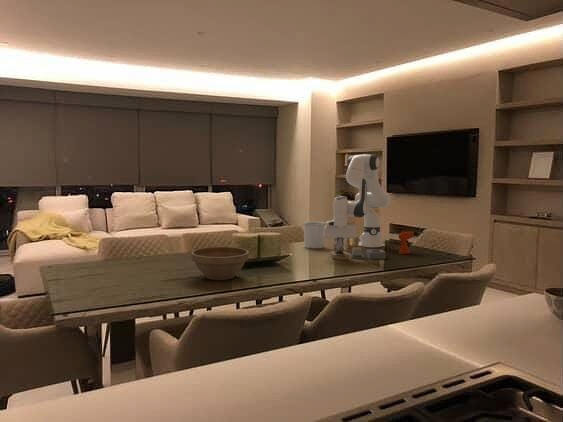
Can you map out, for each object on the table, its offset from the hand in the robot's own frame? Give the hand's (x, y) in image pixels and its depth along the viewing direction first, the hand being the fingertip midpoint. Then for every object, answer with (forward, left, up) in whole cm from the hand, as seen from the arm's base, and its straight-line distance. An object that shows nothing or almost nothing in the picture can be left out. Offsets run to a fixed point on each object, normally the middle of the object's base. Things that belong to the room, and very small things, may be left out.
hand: (339, 244), depth 283 cm
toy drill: (-18, +50, -8) cm, 54 cm away
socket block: (-2, +23, -8) cm, 24 cm away
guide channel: (-5, +11, -8) cm, 15 cm away
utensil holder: (-42, -12, -8) cm, 44 cm away
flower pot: (+52, -68, -8) cm, 86 cm away
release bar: (-2, +11, -8) cm, 14 cm away
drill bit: (0, 0, -7) cm, 7 cm away
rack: (0, 0, -8) cm, 8 cm away
